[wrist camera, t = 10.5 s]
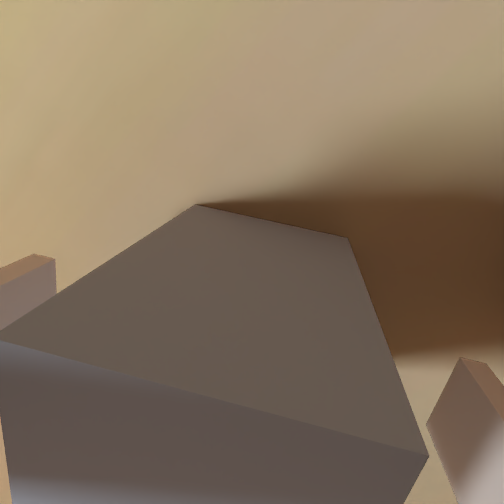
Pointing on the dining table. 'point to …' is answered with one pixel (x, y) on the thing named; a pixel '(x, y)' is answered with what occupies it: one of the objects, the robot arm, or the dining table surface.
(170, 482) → the blue block
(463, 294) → the dining table surface
